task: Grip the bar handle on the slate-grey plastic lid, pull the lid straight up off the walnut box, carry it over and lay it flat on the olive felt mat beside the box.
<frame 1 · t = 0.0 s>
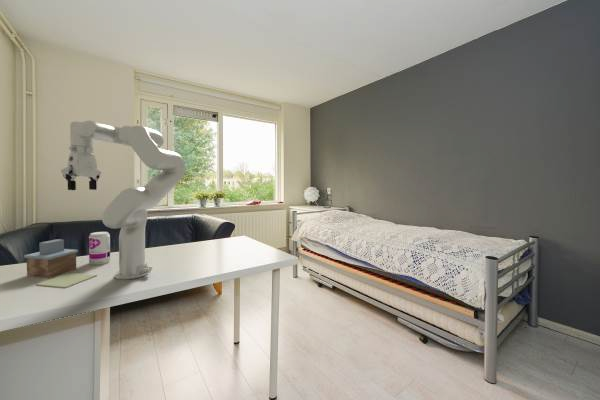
hand: (82, 189, 113), 37 cm above the table, tool pointing down, fingers open, 9 cm apart
felt mat: (68, 280, 104), on the table
walnut box: (52, 272, 111), on the table
lid: (52, 256, 111), point 7 cm above the table, touching walnut box
supplement can: (99, 263, 126), on the table
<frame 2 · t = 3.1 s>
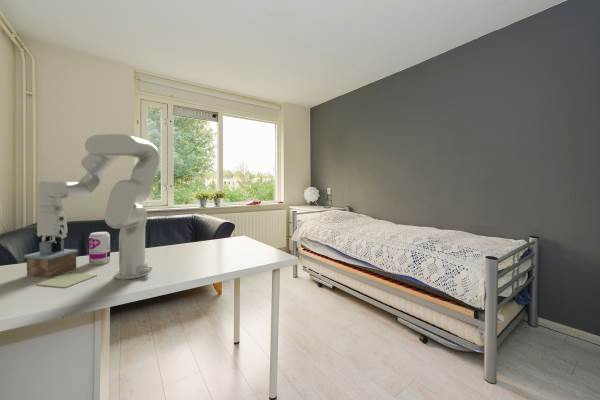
hand: (52, 250, 111), 10 cm above the table, tool pointing down, fingers closed on lid, 3 cm apart
lid: (52, 256, 111), point 7 cm above the table, touching gripper, walnut box
everything else where it was.
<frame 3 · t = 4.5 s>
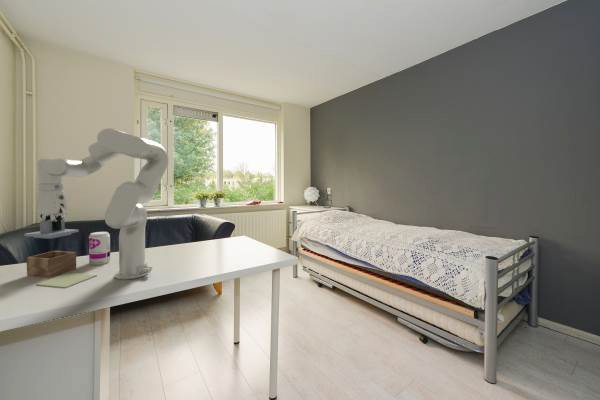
hand: (52, 229, 110), 19 cm above the table, tool pointing down, fingers closed on lid, 3 cm apart
lid: (53, 236, 110), point 16 cm above the table, touching gripper
everything else where it was.
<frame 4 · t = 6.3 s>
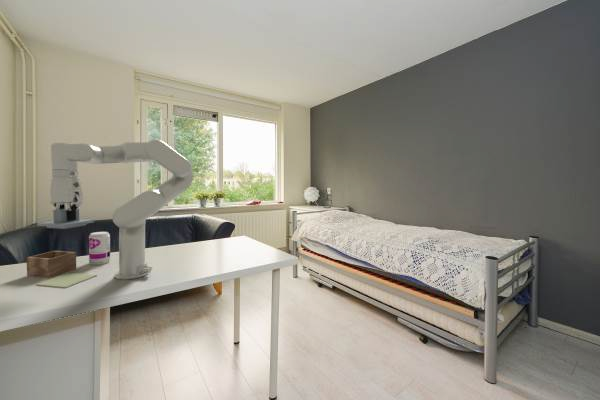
hand: (67, 219, 102), 25 cm above the table, tool pointing down, fingers closed on lid, 3 cm apart
lid: (67, 226, 102), point 22 cm above the table, touching gripper
everything else where it was.
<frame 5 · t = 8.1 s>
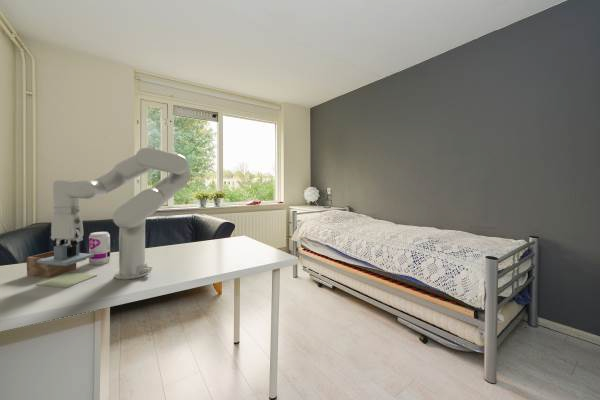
hand: (67, 255, 103), 10 cm above the table, tool pointing down, fingers closed on lid, 3 cm apart
lid: (67, 261, 103), point 8 cm above the table, touching gripper
everything else where it was.
when the fingers open (5 cm above the table, at t = 9.5 s): lid drops 2 cm, resting on felt mat.
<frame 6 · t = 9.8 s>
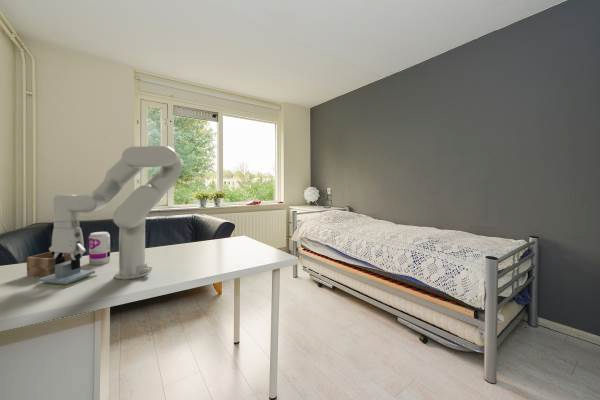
hand: (67, 267, 103), 5 cm above the table, tool pointing down, fingers open, 6 cm apart
lid: (68, 279, 104), resting on felt mat
everything else where it was.
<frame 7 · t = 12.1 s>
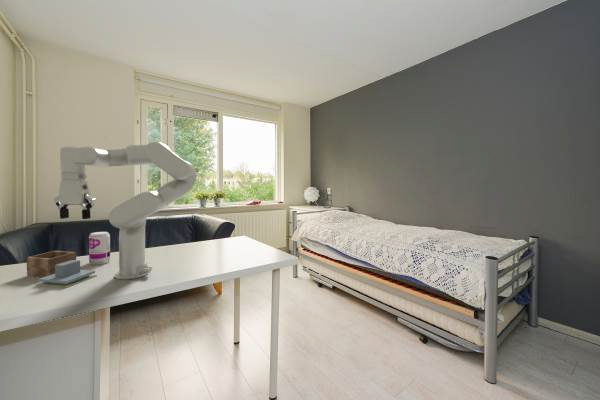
hand: (75, 218, 106), 25 cm above the table, tool pointing down, fingers open, 9 cm apart
nothing on the table moved.
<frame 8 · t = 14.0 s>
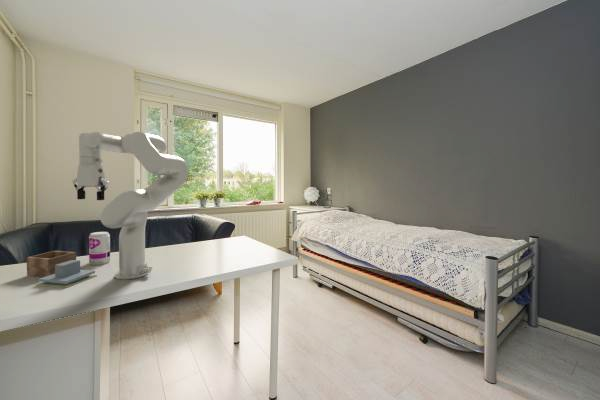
hand: (91, 199, 115), 32 cm above the table, tool pointing down, fingers open, 9 cm apart
nothing on the table moved.
at the end: lid inside the target area on the felt mat (0.1 cm from its centre), point 0.4 cm above the felt mat's base; lid tilted 0°; the gripper is holding nothing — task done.
